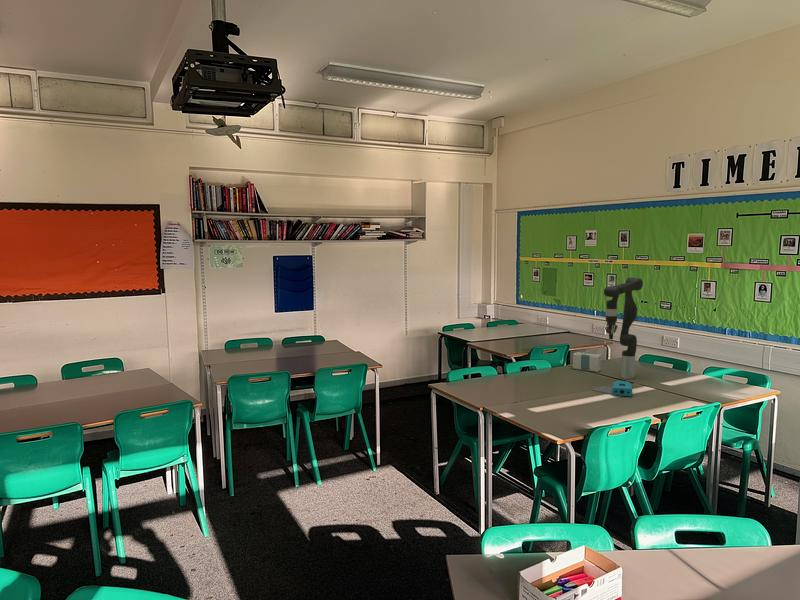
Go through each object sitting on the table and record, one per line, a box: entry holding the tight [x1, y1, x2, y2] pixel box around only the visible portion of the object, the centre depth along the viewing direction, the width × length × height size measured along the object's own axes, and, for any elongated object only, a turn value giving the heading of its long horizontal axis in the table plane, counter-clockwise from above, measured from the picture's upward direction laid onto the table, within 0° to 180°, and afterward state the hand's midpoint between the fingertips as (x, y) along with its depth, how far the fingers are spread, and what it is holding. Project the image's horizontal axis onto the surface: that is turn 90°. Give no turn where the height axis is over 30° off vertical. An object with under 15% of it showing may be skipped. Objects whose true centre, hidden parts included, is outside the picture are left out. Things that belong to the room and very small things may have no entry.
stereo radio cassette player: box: [572, 346, 602, 373], centre depth 442 cm, size 21×8×20 cm, turn 50°
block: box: [612, 380, 633, 397], centre depth 375 cm, size 12×5×20 cm
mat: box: [591, 385, 617, 396], centre depth 381 cm, size 15×18×1 cm
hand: (611, 339), depth 395 cm, fingers closed
